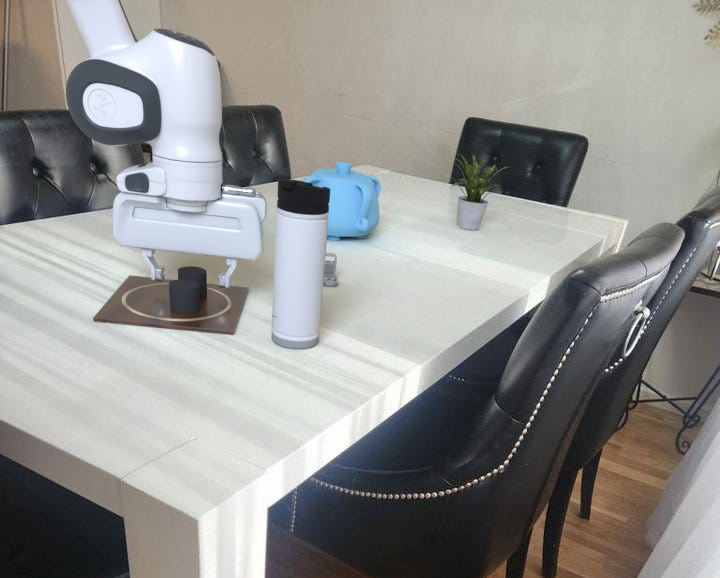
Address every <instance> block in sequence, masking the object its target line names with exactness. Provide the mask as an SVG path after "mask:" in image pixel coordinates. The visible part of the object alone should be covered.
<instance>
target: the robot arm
mask: <svg viewBox="0 0 720 578" xmlns="http://www.w3.org/2000/svg"><path fill="white" fill-rule="evenodd" d="M65 2H66V5H67V7H68V9H69V11H70V14H71V16H72V18H73V20H74V22H75V25H76V27H77V29H78V31H79V34H80V35H81V38H82V40H83V42H84V44H85V47H86V49H87V51H88V54H89V58H86V59H84V60H83V61H81V62H80V63H78V64H77V65H76V66H75V67H73V69H72V70H71V72H70V73H69V76H68V78H67V81H66V85H65V100H66V105H67V108H68V111H69V114H70V116H71V118H72V120H73V122H74V123H75V124H76V126H77V127H78V129H79V130H80V131H81V132H82V133H83V134H84V135H86V137H88V138H89V139H90V140H93V141H95V142H96V143H99V144H101V145H106V146H109V147H125V146H128V145H136V144H142V143H143V144H149V146H150V147H151V155H152V156H151V158H152V161H149V162H143V163H140V164H135V165H131V166H129V167H127V168H124V169H123V170H121V171H120V172H119V173H118V174H117V176H116V178H115V179H116V180H115V181H116V186H117V189H118V190H119V191H120V192H119V193H118V194H116V196H115V197H114V200H113V204H112V216H111V217H112V219H111V220H112V222H111V223H112V236H113V239H114V241H115V242H116V243H117V244H118V245H119V247H127V248H133V249H134V248H136V249H140V251H141V256H142V259H143V260H144V262H145V263H146V265H147V267H148V268H149V269H150V274H151V275H150V277H151V278H152V280H153V281H163V280H164V279H166V278H165V265H159V264H158V262H157V260H156V259H155V257H154V255H155V253H156V251H163V252H172V253H181V254H191V255H199V256H208V257H219V258H226V265H227V266H229V267H228V268H227V270H226V272H222V271H220V273H219V274H218V284H219V287H220V288H230V286H231V277H232V274H233V273H234V271H235V269H236V268H237V266H238V263H239V260H247V261H258V259H259V258H261V256H263V253H264V247H265V245H264V244H265V243H264V240H265V239H264V228H263V223H264V221H265V220H266V218H267V213H268V211H267V210H268V209H267V206H268V204H267V203H268V202H267V199H266V198H265V196H264V195H263V194H262V193H261V192H260V191H257V189H256V188H254V187H251V186H245V187H244V186H243V187H242V186H238V185H233V184H227V183H223V152H222V150H221V146H220V132H221V128H222V125H223V100H222V84H221V83H222V82H221V73H220V67H219V62H218V59H217V56H216V55H215V53H214V51H213V49H212V48H211V47H209V46H208V44H207V43H205V42H204V41H202V40H199V39H198V38H195V37H193V36H190V35H187V34H185V33H182V32H178V31H174V30H171V29H168V28H161V27H159V28H158V27H157V28H154V29H152V30H151V31H150V32H149V33H148V34H147V35H145V37H143V38H141V39H140V40H138V39H137V37H136V35H135V33H134V31H133V28H132V26H131V24H130V21H129V19H128V16H127V14H126V11H125V9H124V6H123V4H122V2H121V0H65Z"/></svg>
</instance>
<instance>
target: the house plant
mask: <svg viewBox="0 0 720 578" xmlns="http://www.w3.org/2000/svg"><path fill="white" fill-rule="evenodd" d="M456 154H457V155H459V156H460V157H462V159H463V161H464V163H463V162H462V161H461V160H460V159H459V158H457V157H453V156H451V159H455V160H457V161H458V162H459V163H460V165H461V166H462V168H463V169H464V172H465V174H466V177H467V178H466V177H465V174H464V172H463V170H462V168H461V166H460V165H459V164H457V163H455V162H450V163H451V164H455V165H456V166H457V167H458V168H459V170H460V172H461V174H462V176H463V178H458V179H457V180H458V181H456V182H454V183H453V184H452V185H451V187H455V186H458V187H459V188H460V189H461V191H462V193H463V195H461V196H458V197H457V214H456V215H457V216H456V218H457V219H456V227H457V226H459V227H461V228H464V229H463V230H465V229H471V230H470V231H478V230H479V229H480V226H481V223H482V221H483V218H484V215H485V212H486V210H487V208H488V204H489V201H488V200H487V199H485V198H486V197H487V196H488V195H489V194H492V193H493V192H497V191H498V192H501V190H500V189H494V190H491V191H489V192H487V191H488V190H490V189H492V188H495V187H500V185H499V184H488V185H487V183H489V182H490V180H491V179H492V178H493V177H494V176H496V175H497V174H498V173H500V171H502V170H503V169H506V168H510V167H511V166H505V167H503V168H501V169H499V170H498V171H496V172H495V173H494V174H493V175H492V176H491V177H490V178H488V177H489V176H490V175H491V174H492V172H493V171H494V169H495V167H496V165H497V163H495V164H494V165H493V166H492V167H489V168H487V169H485V171H483V172H482V174H481V176H480V173H481V168H482V166H483V163H484V162H485V160H486V159H487V155H485V157H484V158H483V159H482V160H481V162H480V163H479V164H478V163H477V159H476V156H475V154H472V165H471V164H469V163H468V160H467V159H466V157H465V156H463V155H462V154H460V153H456ZM450 179H452V180H454V181H455V179H454V178H452V177H450ZM487 179H488V180H487ZM459 181H460V182H459ZM461 185H463V186H464V187H465V188H464V189H465V191H466V194H465V192H464V190H463V188H462V186H461ZM486 192H487V194H485V193H486ZM484 194H485V195H484ZM483 195H484V196H483ZM482 196H483V198H482ZM459 227H458V228H459ZM461 228H460V229H461ZM477 229H478V230H477Z"/></svg>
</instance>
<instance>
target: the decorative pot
mask: <svg viewBox="0 0 720 578" xmlns="http://www.w3.org/2000/svg"><path fill="white" fill-rule="evenodd" d="M352 167H353V164H352V163H351V162H346V161H336V162H335V168H324V167H321V168H318V169H315V170H314V171H313V172H312V174H311V175H308V176H306V177H304V179H302V181H303V182H308V183H312V184H313V185H312V186H317V187H327V188H330V201H329V204H328V205H329V216H328V231H327V240H330V241H340V240H341V237H342V238H343V237H344V238H345V237H347V238H348V237H352V238H354V237H355V238H354V239H358V238H364V239H365V238H366V237H365V236H367V235H371V234H372V233H373V232H374V231H375V230H376V228H377V227H378V225H379V223H380V205H379V198H380V197H379V196H380V194H381V190H382V188H381V187H382V185H381V182H380V180H379V179H378V178H377V177H376V176H374V175H371V174H364V173H362V172H359V171H356V170H352Z"/></svg>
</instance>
